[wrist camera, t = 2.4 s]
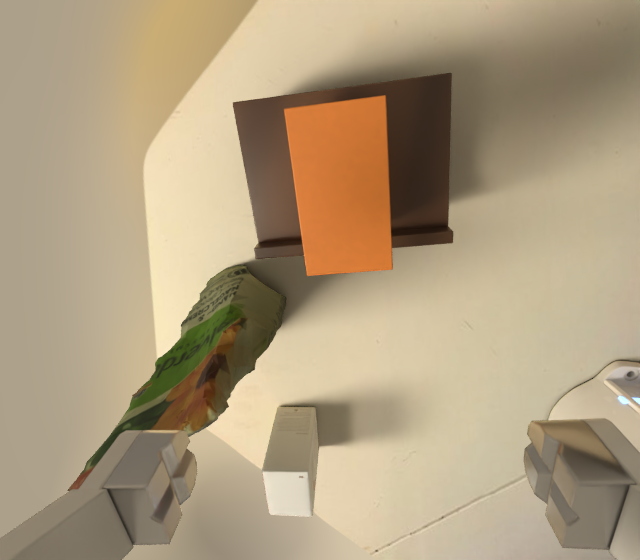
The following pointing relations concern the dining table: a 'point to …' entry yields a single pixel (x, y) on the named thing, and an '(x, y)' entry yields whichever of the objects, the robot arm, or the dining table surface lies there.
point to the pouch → (204, 359)
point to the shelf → (403, 154)
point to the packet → (342, 184)
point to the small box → (292, 462)
